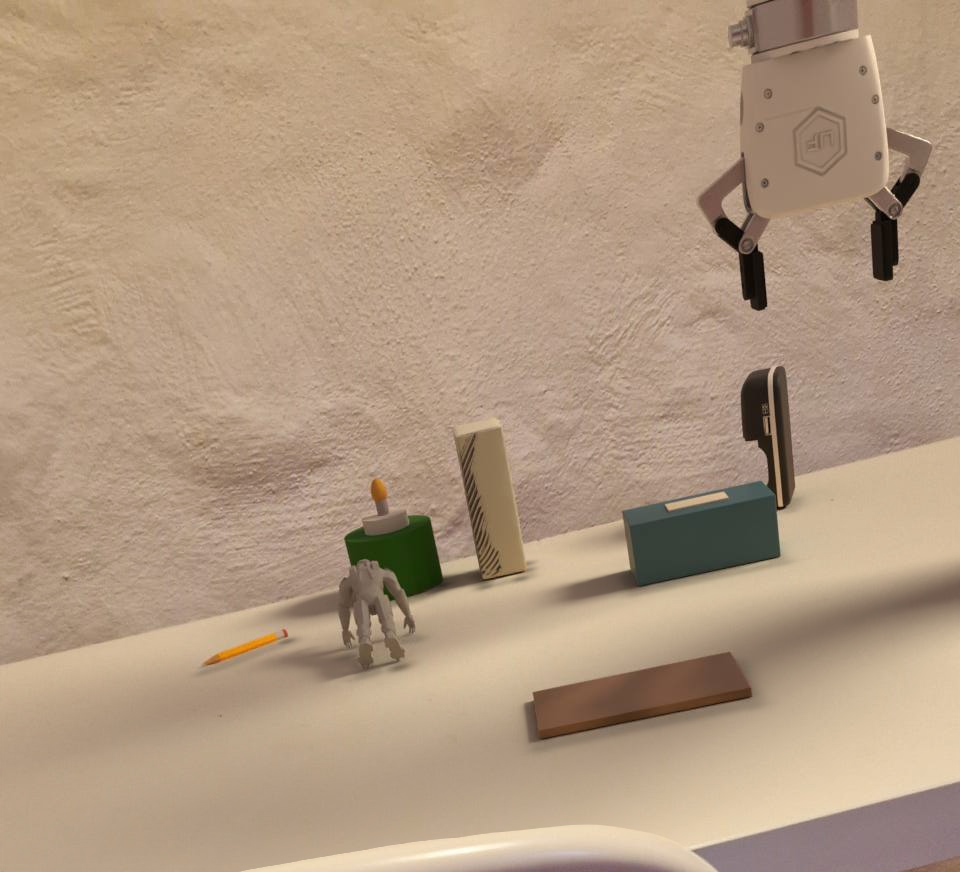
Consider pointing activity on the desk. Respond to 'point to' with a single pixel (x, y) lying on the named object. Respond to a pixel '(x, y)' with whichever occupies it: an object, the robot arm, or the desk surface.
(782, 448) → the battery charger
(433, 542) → the candle
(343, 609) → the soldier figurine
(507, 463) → the box
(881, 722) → the desk surface
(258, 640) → the pencil
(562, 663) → the desk surface
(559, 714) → the brown wooden plank
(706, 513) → the tissue box
